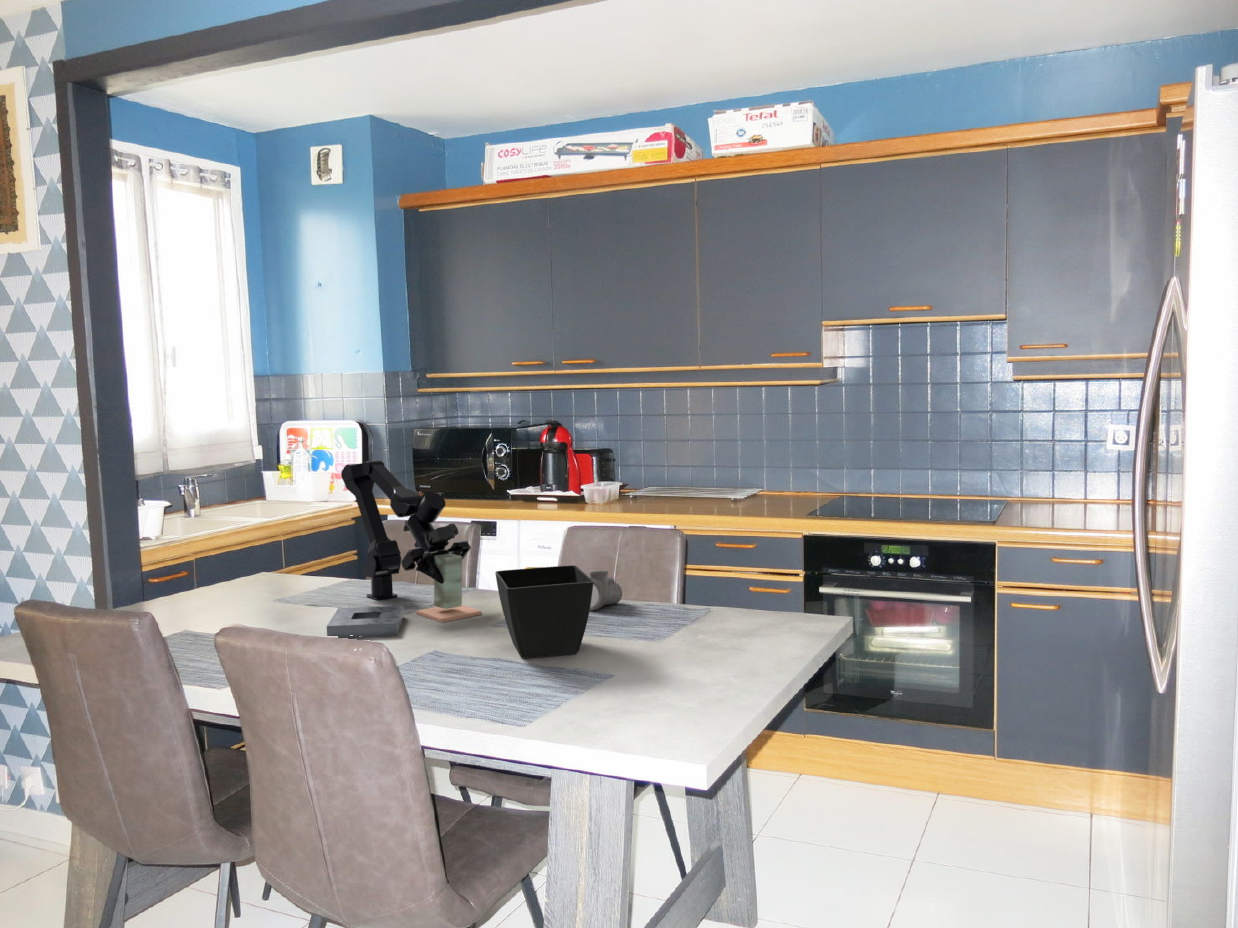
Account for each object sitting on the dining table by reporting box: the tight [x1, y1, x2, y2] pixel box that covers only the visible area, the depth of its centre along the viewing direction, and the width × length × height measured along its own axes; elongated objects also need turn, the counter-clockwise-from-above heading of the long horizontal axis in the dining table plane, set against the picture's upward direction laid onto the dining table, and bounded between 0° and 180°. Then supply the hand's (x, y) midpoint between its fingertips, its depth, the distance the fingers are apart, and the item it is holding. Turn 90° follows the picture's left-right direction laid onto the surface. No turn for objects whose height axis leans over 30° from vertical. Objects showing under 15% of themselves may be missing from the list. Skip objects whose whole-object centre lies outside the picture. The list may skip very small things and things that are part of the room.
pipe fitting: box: [588, 569, 623, 612], centre depth 257 cm, size 12×8×10 cm, turn 142°
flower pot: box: [495, 564, 593, 659], centre depth 216 cm, size 19×19×17 cm
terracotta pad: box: [415, 604, 482, 623], centre depth 250 cm, size 12×12×1 cm
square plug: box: [433, 554, 463, 609], centre depth 250 cm, size 5×5×13 cm
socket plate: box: [326, 605, 404, 639], centre depth 237 cm, size 18×16×3 cm
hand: (451, 581), depth 249 cm, fingers closed on square plug, 5 cm apart
